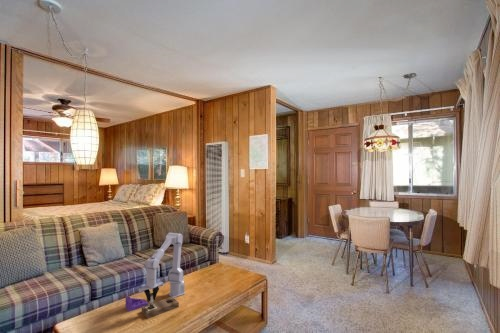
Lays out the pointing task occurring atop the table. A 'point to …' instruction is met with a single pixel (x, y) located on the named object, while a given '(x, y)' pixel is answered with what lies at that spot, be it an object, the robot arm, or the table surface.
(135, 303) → the bracket
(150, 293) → the pin
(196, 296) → the table surface
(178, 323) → the table surface
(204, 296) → the table surface
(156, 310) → the board
